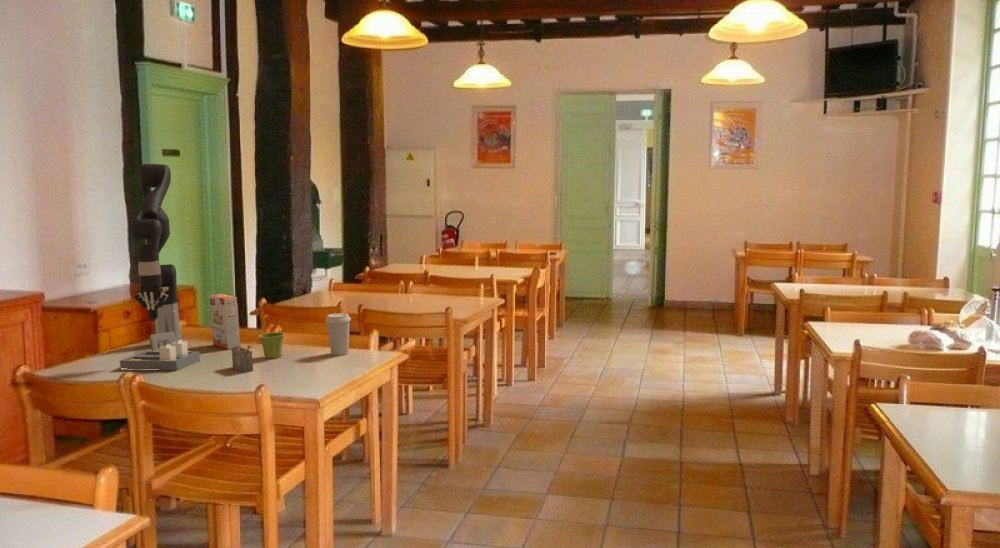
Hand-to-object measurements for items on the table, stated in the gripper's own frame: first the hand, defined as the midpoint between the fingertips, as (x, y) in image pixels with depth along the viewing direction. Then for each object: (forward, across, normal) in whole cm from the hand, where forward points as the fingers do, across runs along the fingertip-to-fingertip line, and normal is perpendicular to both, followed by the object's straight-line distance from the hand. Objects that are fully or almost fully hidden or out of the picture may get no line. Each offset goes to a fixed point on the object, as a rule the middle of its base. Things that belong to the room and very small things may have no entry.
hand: (153, 319), depth 306 cm
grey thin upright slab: (+17, -38, +8) cm, 43 cm away
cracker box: (+17, -13, -29) cm, 36 cm away
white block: (+15, -10, 0) cm, 18 cm away
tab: (+14, -10, +8) cm, 19 cm away
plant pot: (+16, -41, -11) cm, 46 cm away
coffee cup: (+16, -65, -18) cm, 70 cm away
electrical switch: (+17, +4, -11) cm, 20 cm away
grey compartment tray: (+16, -4, +4) cm, 17 cm away
